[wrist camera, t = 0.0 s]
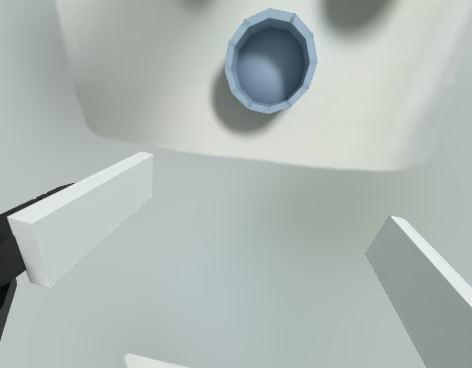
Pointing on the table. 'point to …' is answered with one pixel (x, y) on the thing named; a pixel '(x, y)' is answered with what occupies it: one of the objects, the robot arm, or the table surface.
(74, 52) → the table surface
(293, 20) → the bowl
